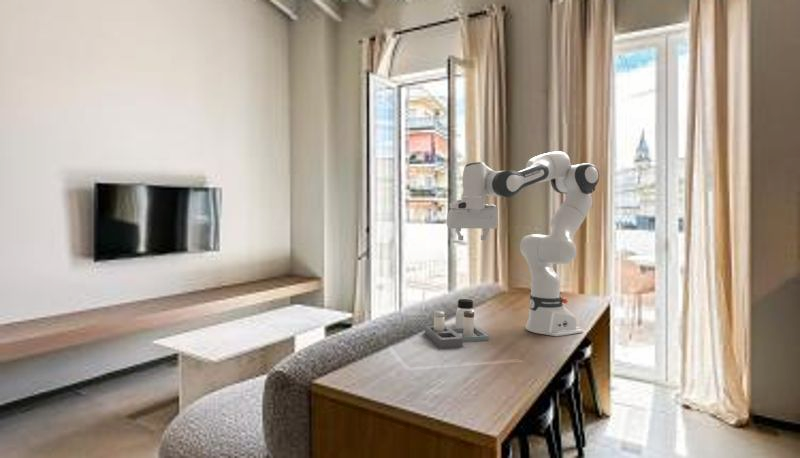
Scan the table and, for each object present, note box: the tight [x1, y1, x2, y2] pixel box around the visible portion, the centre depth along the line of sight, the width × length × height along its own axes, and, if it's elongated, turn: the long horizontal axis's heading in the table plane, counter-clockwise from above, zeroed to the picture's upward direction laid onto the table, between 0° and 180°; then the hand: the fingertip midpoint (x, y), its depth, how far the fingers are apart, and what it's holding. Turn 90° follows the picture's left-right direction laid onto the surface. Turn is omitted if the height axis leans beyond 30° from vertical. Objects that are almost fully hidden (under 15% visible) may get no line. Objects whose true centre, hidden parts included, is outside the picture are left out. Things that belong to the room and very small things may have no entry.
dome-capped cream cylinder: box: [433, 310, 446, 331], centre depth 183 cm, size 4×4×10 cm
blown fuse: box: [462, 311, 475, 337], centre depth 185 cm, size 4×4×10 cm
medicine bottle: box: [454, 298, 475, 328], centre depth 199 cm, size 7×7×12 cm
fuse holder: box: [420, 325, 467, 350], centre depth 179 cm, size 20×10×4 cm, turn 15°
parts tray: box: [449, 326, 489, 343], centre depth 185 cm, size 11×12×2 cm
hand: (472, 240), depth 188 cm, fingers open, 8 cm apart
